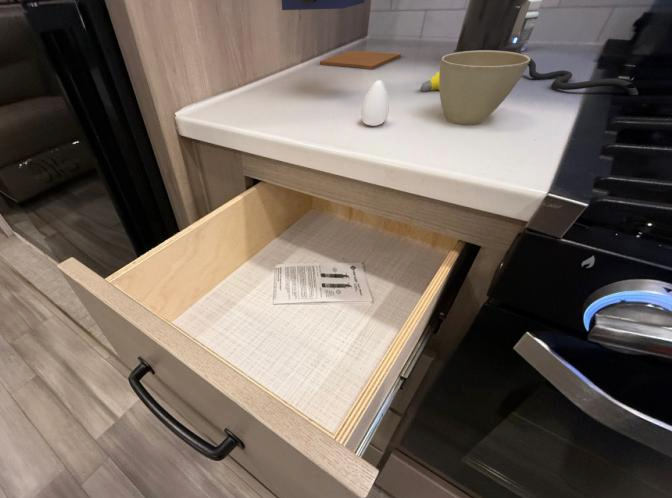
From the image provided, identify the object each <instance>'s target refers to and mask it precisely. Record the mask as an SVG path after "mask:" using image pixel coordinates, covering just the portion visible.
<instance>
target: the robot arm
mask: <svg viewBox="0 0 672 498" xmlns="http://www.w3.org/2000/svg"><path fill="white" fill-rule="evenodd" d="M302 1H303V3H312V2H315V1H316V0H302ZM529 6H530V1H528V0H468V3H467V6H466V9H465V14H464V17H463V21H462V25H461V28H460V32H459V36H458V39H457V43H456V47H455V49H454V50H453V53H457V52H465V51H480V50H491V51H506V52H514V53H519V54H522V55H524V53H521V52H522V51H521V49H522V46H523V43H516V41H517V38H518V35H519V33H520V30H521V27H522V25H523V22H524V19H525V17H526V14H527V11H528V9H529ZM520 51H521V52H520ZM528 57H529V58H530V61H529V63H528V65H527V67H528V69H529V70H528V75H529V77H530V78H532V79H533V80H536V81H542V80H543V81H544V80H548V79H549V80H550V79H553V78H556V79H554V80H553V81H552V83H551V86H552V88H554V89H557V90H562V91H573V90H574V91H575V90H582V89H589V88H598V87H615V88H619V89H621V90H623V91H624V92H625V93H626V94H627V95H628V96H629V95H630V96H629V97H632V96H631V95H638V94H639V91H638V89H637V88H636V87H635V88H627V87H623V86H626V85H629V84H632V82H630V81H628V80H625V79H620V78H600V79H592V80H586V81H579V82H567V81H569V80H570V79H572V77H573V73H572V71H569V70H561V69H560V70H554V71H550V72H546V73H540V72H538V71H537V64H536V62H535V61H534V59H532V57H530V56H528Z"/></svg>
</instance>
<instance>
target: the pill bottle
mask: <svg viewBox="0 0 672 498" xmlns="http://www.w3.org/2000/svg"><path fill="white" fill-rule="evenodd" d="M528 1H530V6H529V9H528V11H527V14H526V17H525V19H524V22H523V25H522V27H521V30H520V33H519V35H518V38H517V41H516V43H523V46H522V49H521V51H520V53H521V52H524V51H525V50H526V48H527V44H528V42H529V40H530V38H531V35H532V33H533V30H534V27H535V25H536V23H537V20H538V17H539V16H540V15H539V14H540V12H539V11H538V10H539V9H540V8H541V5H542V3H543V0H528Z"/></svg>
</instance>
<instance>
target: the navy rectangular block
mask: <svg viewBox="0 0 672 498" xmlns="http://www.w3.org/2000/svg"><path fill="white" fill-rule="evenodd" d="M365 1H366V0H316V1H315V2H312V3H303V1H302V0H281V10H282V11H307V10H309V11H310V10H342V9H347V8H350V7H354V6H357V5H362V4H364V3H365Z"/></svg>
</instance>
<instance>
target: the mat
mask: <svg viewBox="0 0 672 498" xmlns="http://www.w3.org/2000/svg"><path fill="white" fill-rule="evenodd" d="M401 56H402V53H395V52H394V53H393V52H380V51H379V52H378V51H363V50H348V51H345V52H342V53H338V54H336V55H334V56H331V57H328V58H326V59H323V60H320V61H319V65H324V66H333V67H345V68H354V69H368V70H374V69H376V68H378V67H381V66H383V65H385V64H387V63H390V62H392V61H395V60H397V59H399V58H401Z"/></svg>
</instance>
